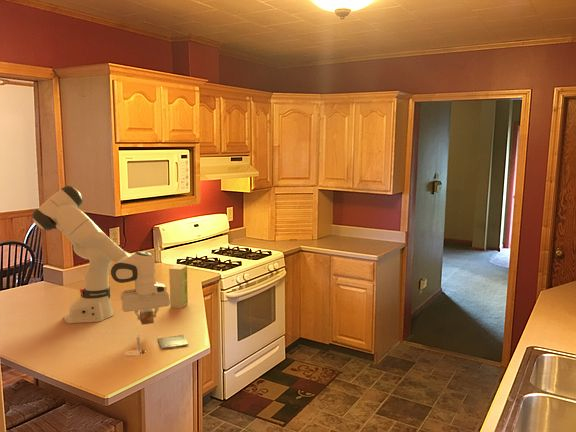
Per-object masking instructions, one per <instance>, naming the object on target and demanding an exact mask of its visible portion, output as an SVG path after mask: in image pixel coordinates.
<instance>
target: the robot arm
mask: <svg viewBox="0 0 576 432" xmlns="http://www.w3.org/2000/svg"><path fill="white" fill-rule="evenodd" d="M83 200H84V198H83V196H82V193H81V192H80V191H79V190H78V189H77V188H75V187H73V186H71V185H65V186H63V187H62V188H60V189H59V190H58V191H57V192H55V193H53V194H52V195H51V196H49V197H48V199H46V201H44V202H43V203H42V204H41V205H40V206H39V207H38V208H35V210H34V211H33V213H31V217H32V219H33V222H34V224H35V225H36V226H37V227H38V228H40V229H42V230H44V231H52V230H54V229H55V230H56V229H58V230H59V231H60V233H62V234H63V236H65V238H67V239H68V240H69V242H70V243H71V245H72V247H73V252H74V253H75V254H76V255H77V256H79V257H80V258H82V259H84V260H89V262H88V267H87V269H86V270H85V271H84V273H83V274H84V275H83V279H84V288H83V287H80V288H79V293H80V297H79V298H77V299H76V300H75V301H74V302H72V303H71V304H70V307H69V309H68V313H66V314H65V315H64V318H63V320H64V322H65V323H66V324H82V323H96V322H102V321H104V320H105V319H108V318H111V317H112V316H113V315H114V314H115V312H114V310H113V307H112V301H111V286H110V281H109V280H110V278H109V271H110V277H111V278H112V280H114V281H115V282H117V283H120V284H123V283H129V282H134V289H128V290H124V291H122V292H121V293H120V300H121V301H122V302H121V309H122V311H123V312H124V313H129V312H134V314H135V315H136V316H137V317H136V318H137V319H136V320H137V321H140V319H141V315H140V314H139V311H140V310H145V309H154V310H153V318H157V313H158V311H159V308H164V307H169V306H170V293H169V292H168V291H167V289H168V288H167V286H166V284H165V283H162V282H158V281H156V277H155V273H156V266H155V265H156V263H155V258H154V255H153V253H151V252H149V251H145V250H140V251H139V250H137V251H136V252H135V253H133V254H132V253H130V252H127V251H125V250H124V249H123V248H122V247H120V245H118V244H117V243H116V242H115V241H114V240H113V239H111V237H109V236H108V235H107V234H106V233H105V232H104V231H103V230H102V229H101V228H100V227H99V226H98V225H97V224H96V223H95V222H94V221H93V220H92V219H91V218H90V217H89V216H88V215H87V214H86V213H85V212H84V211H83V210H81V209H80V208H79V207H80V206H81V205H82V204H83V202H84V201H83ZM112 262H114V264H113V265H112V266H111V263H112ZM110 267H111V269H110Z"/></svg>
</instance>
